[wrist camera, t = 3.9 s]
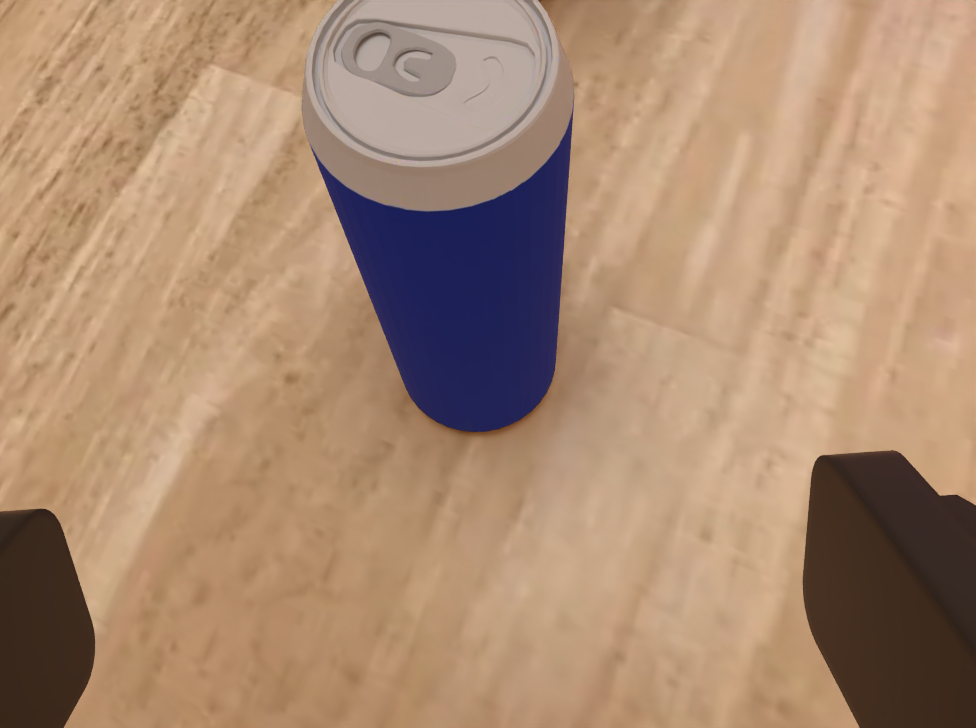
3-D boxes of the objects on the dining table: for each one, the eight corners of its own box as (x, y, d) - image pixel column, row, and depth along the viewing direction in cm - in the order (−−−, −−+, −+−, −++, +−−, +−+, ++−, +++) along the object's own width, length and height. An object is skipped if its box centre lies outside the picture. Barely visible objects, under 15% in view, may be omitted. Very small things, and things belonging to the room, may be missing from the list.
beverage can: (576, 321, 30) (614, -15, 16) (524, 459, 28) (517, 217, 14) (436, 277, 31) (358, -79, 17) (379, 407, 29) (238, 132, 15)
